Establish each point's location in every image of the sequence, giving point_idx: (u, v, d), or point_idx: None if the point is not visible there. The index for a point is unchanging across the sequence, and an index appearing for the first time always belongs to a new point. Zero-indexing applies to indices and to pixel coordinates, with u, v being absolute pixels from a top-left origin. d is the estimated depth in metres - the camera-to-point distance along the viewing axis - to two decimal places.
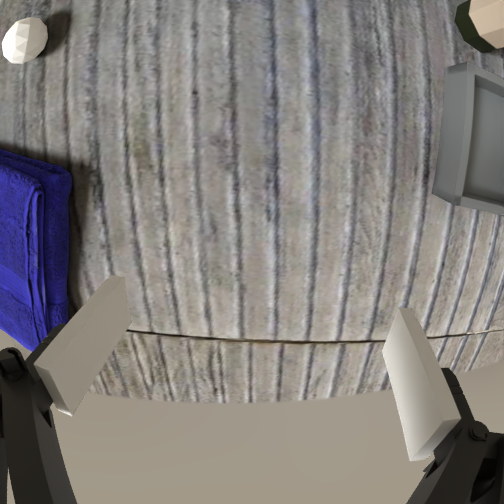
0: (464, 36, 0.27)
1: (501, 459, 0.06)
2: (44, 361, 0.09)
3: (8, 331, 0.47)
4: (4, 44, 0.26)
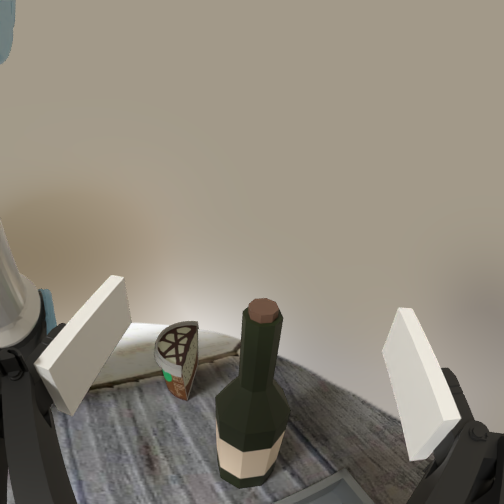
0: (235, 485, 0.35)
1: (501, 459, 0.06)
2: (44, 361, 0.09)
3: None
4: None
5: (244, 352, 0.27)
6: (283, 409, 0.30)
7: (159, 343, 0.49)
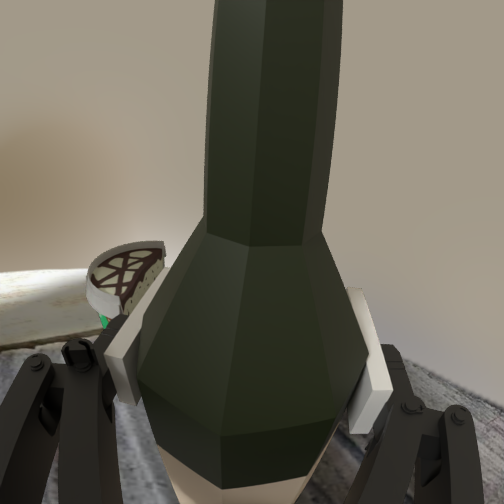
0: None
1: (444, 441, 0.07)
2: (115, 350, 0.10)
3: None
4: None
5: (218, 39, 0.06)
6: (354, 344, 0.09)
7: (96, 269, 0.29)
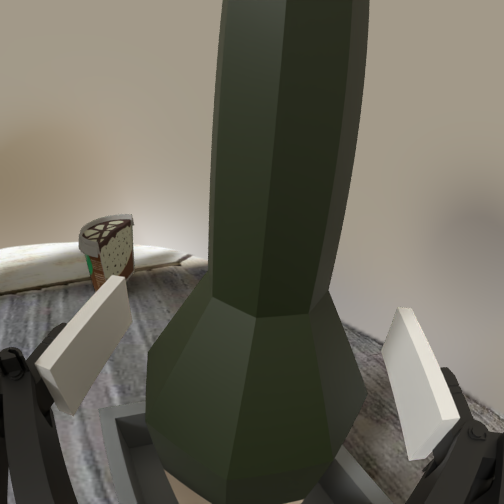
0: None
1: (500, 459, 0.06)
2: (45, 361, 0.09)
3: None
4: None
5: (224, 92, 0.06)
6: (354, 390, 0.09)
7: (86, 231, 0.43)
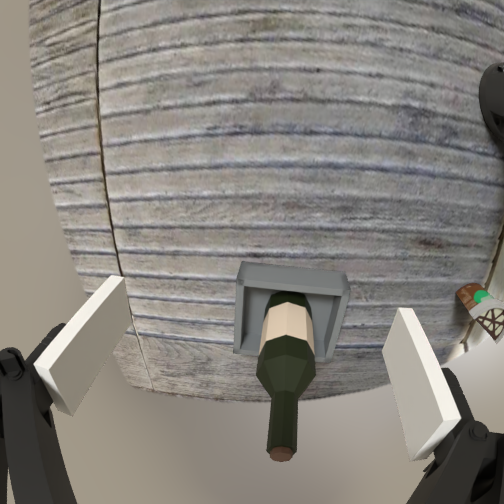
0: (273, 295, 0.55)
1: (501, 459, 0.06)
2: (44, 361, 0.09)
3: None
4: None
5: (282, 420, 0.33)
6: None
7: (501, 309, 0.43)
